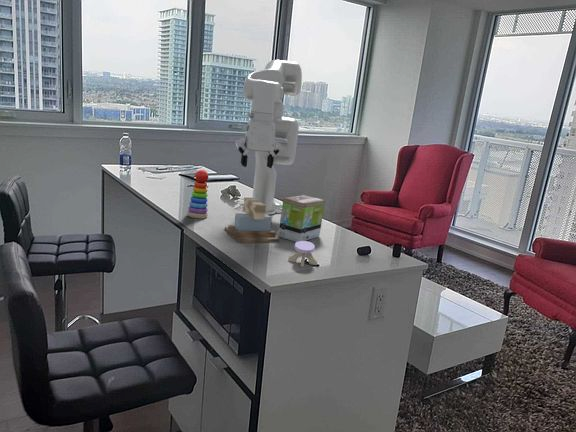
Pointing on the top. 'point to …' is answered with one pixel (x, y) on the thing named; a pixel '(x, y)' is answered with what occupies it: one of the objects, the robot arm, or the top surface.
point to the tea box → (301, 218)
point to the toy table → (303, 252)
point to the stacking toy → (199, 196)
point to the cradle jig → (252, 235)
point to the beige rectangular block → (254, 208)
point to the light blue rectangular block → (251, 223)
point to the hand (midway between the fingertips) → (256, 166)
